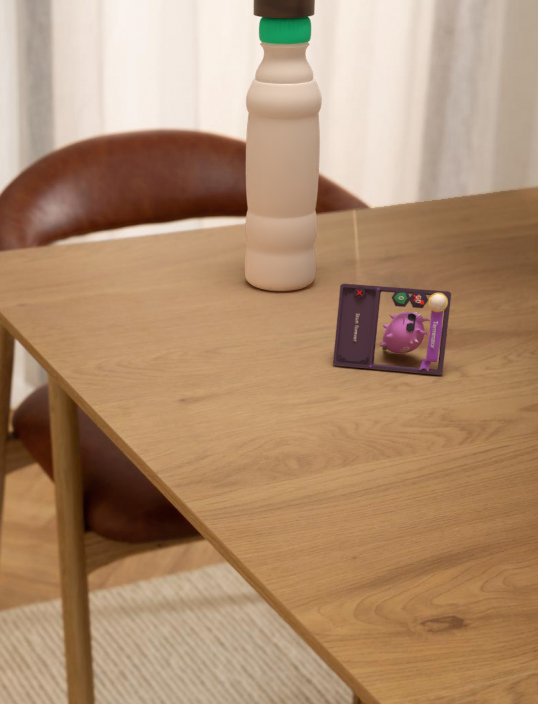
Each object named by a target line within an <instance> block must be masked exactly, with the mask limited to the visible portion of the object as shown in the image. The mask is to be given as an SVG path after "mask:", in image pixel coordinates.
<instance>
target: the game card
mask: <svg viewBox="0 0 538 704" xmlns="http://www.w3.org/2000/svg"><path fill="white" fill-rule="evenodd" d="M381 293H393V295H391V300H392V303H393V304H394V306H395V307H399V308H406V306H407V305H408V304H409V302H410V304H411V307H412V309H414V308H415V309H424V307H425V306H426V305H427V303H428V305H427V306H428V307H429V309H430V310H431V311H430V319H429V318H425V317H424V316H422V315H424V313H423V312H422V313H419V314H418V311H416V312H412V311H402V312H399V313H398V314H389V317H390V318H391V319H392V320H391V322H390V323H389V324H383V325H382V327H383V328H384V329H385V330H384V333H383V335H382V343H380V344H379V347H381V350H382V351H384V352H387V351H388V352H390V353H393V354H397V355H402V354H408V353H411V352H413V351H415V350H416V349H417V348H419V347H420V346H421V344H423V341H424V338H425V336H428V340H427V341H428V342H427V349H426V355H425V359H422V361H421V363H420V366H419V367H414V366H413V367H412V366H400V365H391V364H390V365H389V364H379V363H374V361H375V354H376V351H375V350H376V345H377V344H376V343H377V342H376V341H377V332H378V322H379V313H380V305H381V304H380V302H381ZM409 294H410V295H409ZM428 296H430V297H429V298H428ZM451 299H452V293H451V292H450V291H446V290H435V289H434V290H433V289H423V288H422V289H421V288H409V287H408V288H406V287H395V286H394V287H393V286H383V285H382V286H380V285H369V284H354V283H352V284H351V283H341V284H340V285H339V295H338V307H337V315H336V317H337V318H336V328H335V338H334V346H333V347H334V350H333V358H332V360H333V361H332V364H333V365H334V366H339V367H349V368H350V367H351V368H358V369H359V368H360V369H361V368H362V369H373V370H383V371H392V372H405V373H414V374H425V375H434V376H435V375H436V376H437V375H438V376H441V375H443V372H444V364H445V356H446V355H445V354H446V346H447V337H448V336H447V335H448V328H449V327H448V326H449V319H450V318H449V317H450V308H451ZM424 322H430V323H429V334H428V332H427V331H426V330H425V325H424ZM432 363H438V364H437V369H434V368H433V369H432V368H430V366H431V364H432Z"/></svg>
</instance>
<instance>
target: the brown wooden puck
mask: <svg viewBox="0 0 538 704" xmlns="http://www.w3.org/2000/svg"><path fill="white" fill-rule="evenodd" d="M315 5H316V0H253V16H255V17H260V18H262V17H268V18H300V17H309V18H310V17H313V16H315V9H316V7H315Z"/></svg>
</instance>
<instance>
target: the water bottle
mask: <svg viewBox="0 0 538 704" xmlns="http://www.w3.org/2000/svg"><path fill="white" fill-rule="evenodd" d="M311 38H312V20H311V18H310V16H309V17H300V18H268V17H260V19H259V23H258V39H259V41H260V43H259V45H260V46H261V48H262V50H263V57H262V59H261V62H260V63H259V64H258V66H257V68H256V71H255V76H254V77H255V78H253V79H252V81H251V84H250V86H249V88H248V90H247V93H246V96H245V106H246V107H245V108H246V111H247V113H248V115H247V123H246V139H245V192H246V206H247V211H246V215H245V228H244V229H245V230H244V231H245V240H246V249H245V255H244V256H245V257H244V277H245V280H246V281H247V282H248V284H250V285H251V286H253V287H255V288H257V289H260V290H265V291H269V292H271V291H272V292H290V291H292V292H293V291H296V290H300V289H304V288H306V287H308V286H310V285H311V284H312V283H313V282H315V278H316V275H317V272H316V271H317V254H316V240H317V234H318V218H317V211H316V208H317V200H318V191H319V178H320V153H321V152H320V151H321V150H320V149H321V147H320V146H321V145H320V144H321V138H320V136H321V135H320V132H321V131H320V114H319V113H320V111H321V109H322V94H321V90H320V87H319V85H318V83H317V80H316V79H315V78H314V71H313V69H312V67H311V65H310V63H309V62H308V59H307V56H306V52H307V49H308V47H309V46H310V43H309V42H310V41H311Z"/></svg>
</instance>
